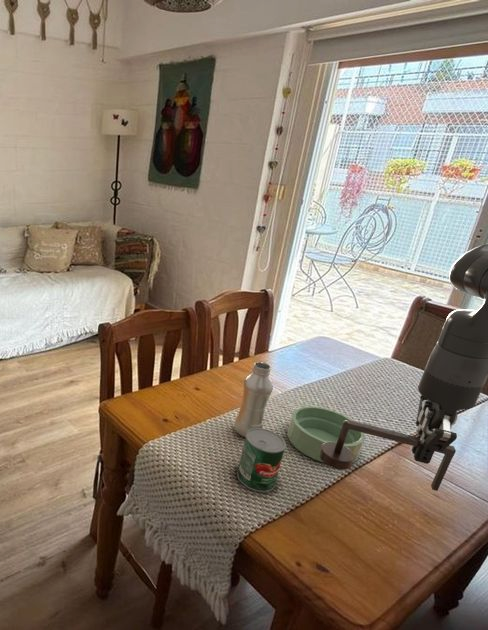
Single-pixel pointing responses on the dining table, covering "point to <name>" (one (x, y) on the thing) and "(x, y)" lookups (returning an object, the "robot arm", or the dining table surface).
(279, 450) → the canned tomato
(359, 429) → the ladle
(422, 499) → the dining table surface
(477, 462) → the dining table surface
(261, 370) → the plastic bottle
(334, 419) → the bowl
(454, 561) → the dining table surface
